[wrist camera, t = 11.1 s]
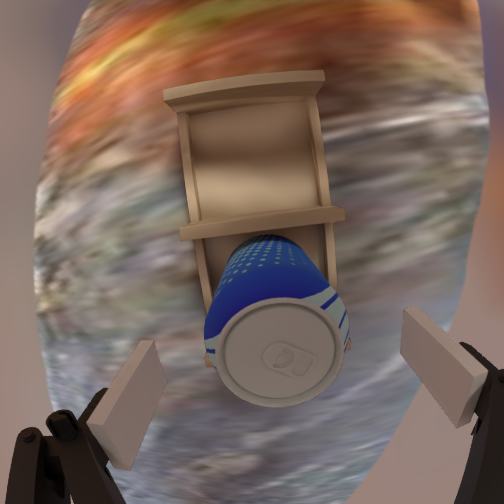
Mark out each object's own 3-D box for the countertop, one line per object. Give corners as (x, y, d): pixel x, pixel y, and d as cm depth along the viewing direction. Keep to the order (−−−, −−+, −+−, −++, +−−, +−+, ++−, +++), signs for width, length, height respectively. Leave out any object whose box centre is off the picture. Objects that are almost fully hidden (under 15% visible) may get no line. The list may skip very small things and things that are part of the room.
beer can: (247, 325, 31) (242, 435, 15) (211, 254, 30) (166, 322, 14) (322, 292, 30) (377, 383, 15) (289, 218, 29) (329, 249, 13)
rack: (182, 111, 28) (162, 90, 21) (308, 95, 28) (323, 69, 20) (215, 332, 33) (206, 367, 26) (332, 318, 32) (350, 349, 25)
